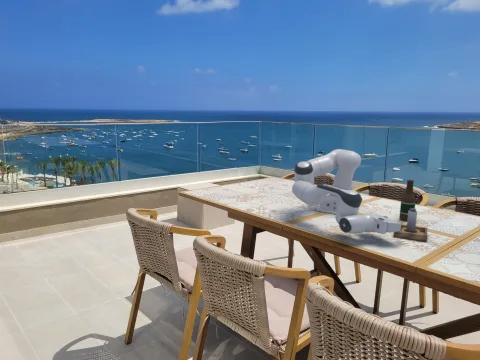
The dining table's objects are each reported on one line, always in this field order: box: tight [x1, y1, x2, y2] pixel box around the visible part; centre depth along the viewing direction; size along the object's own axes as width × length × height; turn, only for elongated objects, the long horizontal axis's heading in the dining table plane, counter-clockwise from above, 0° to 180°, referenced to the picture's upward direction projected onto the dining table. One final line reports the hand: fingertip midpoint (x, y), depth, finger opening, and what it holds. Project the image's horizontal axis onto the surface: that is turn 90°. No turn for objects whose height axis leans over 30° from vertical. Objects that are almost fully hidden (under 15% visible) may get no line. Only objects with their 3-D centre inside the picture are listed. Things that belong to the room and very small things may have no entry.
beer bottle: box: [398, 179, 417, 223], centre depth 211 cm, size 8×8×24 cm
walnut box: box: [393, 223, 428, 243], centre depth 185 cm, size 15×15×3 cm
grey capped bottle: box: [406, 207, 418, 233], centre depth 184 cm, size 4×4×13 cm
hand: (393, 220), depth 179 cm, fingers open, 8 cm apart
